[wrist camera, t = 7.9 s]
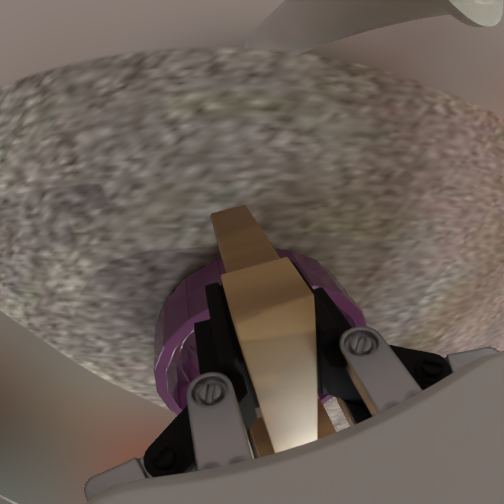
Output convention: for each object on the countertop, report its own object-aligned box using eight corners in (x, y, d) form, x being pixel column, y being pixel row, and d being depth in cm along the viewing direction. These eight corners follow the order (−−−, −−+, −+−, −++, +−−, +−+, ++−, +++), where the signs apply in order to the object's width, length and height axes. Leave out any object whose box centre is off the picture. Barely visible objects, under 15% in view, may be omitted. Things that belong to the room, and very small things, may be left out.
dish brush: (173, 222, 13) (173, 333, 7) (280, 195, 13) (365, 277, 7) (241, 411, 20) (264, 492, 14) (303, 392, 20) (337, 469, 14)
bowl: (125, 278, 19) (114, 325, 15) (338, 222, 21) (376, 254, 17) (191, 402, 27) (196, 443, 23) (338, 360, 29) (359, 395, 24)
